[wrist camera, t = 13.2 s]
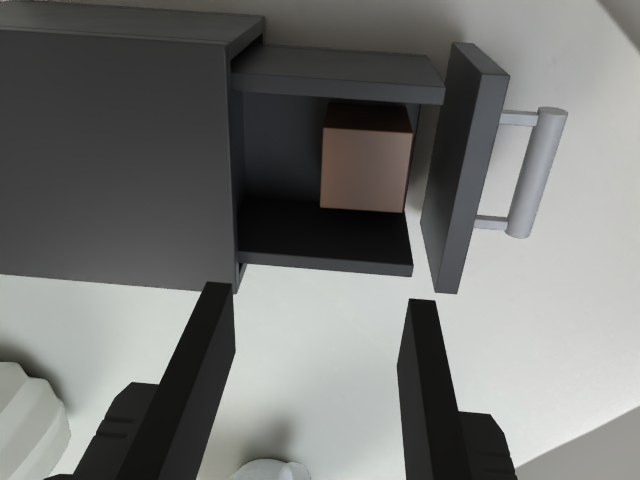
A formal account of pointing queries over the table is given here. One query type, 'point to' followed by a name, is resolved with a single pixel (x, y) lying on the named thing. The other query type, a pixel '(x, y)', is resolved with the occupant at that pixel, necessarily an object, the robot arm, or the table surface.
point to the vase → (29, 425)
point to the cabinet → (119, 143)
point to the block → (365, 157)
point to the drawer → (445, 168)
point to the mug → (271, 471)
